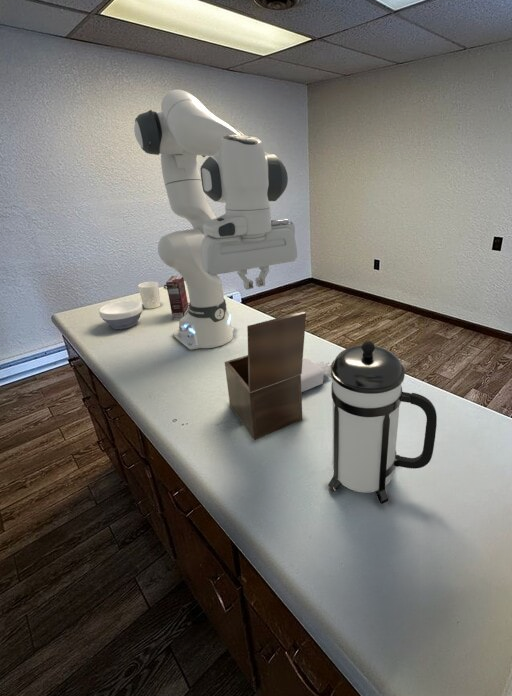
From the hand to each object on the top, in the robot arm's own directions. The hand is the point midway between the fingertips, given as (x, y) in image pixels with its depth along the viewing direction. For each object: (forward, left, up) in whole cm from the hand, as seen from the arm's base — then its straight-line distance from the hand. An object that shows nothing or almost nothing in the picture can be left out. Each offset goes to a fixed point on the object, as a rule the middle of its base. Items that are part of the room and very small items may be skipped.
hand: (254, 287), depth 78 cm
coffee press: (+31, -2, -33) cm, 46 cm away
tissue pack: (0, +18, -33) cm, 38 cm away
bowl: (-82, +6, -33) cm, 89 cm away
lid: (+8, -3, -12) cm, 15 cm away
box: (0, 0, -33) cm, 33 cm away
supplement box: (-72, +24, -33) cm, 83 cm away
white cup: (-92, +23, -33) cm, 101 cm away
